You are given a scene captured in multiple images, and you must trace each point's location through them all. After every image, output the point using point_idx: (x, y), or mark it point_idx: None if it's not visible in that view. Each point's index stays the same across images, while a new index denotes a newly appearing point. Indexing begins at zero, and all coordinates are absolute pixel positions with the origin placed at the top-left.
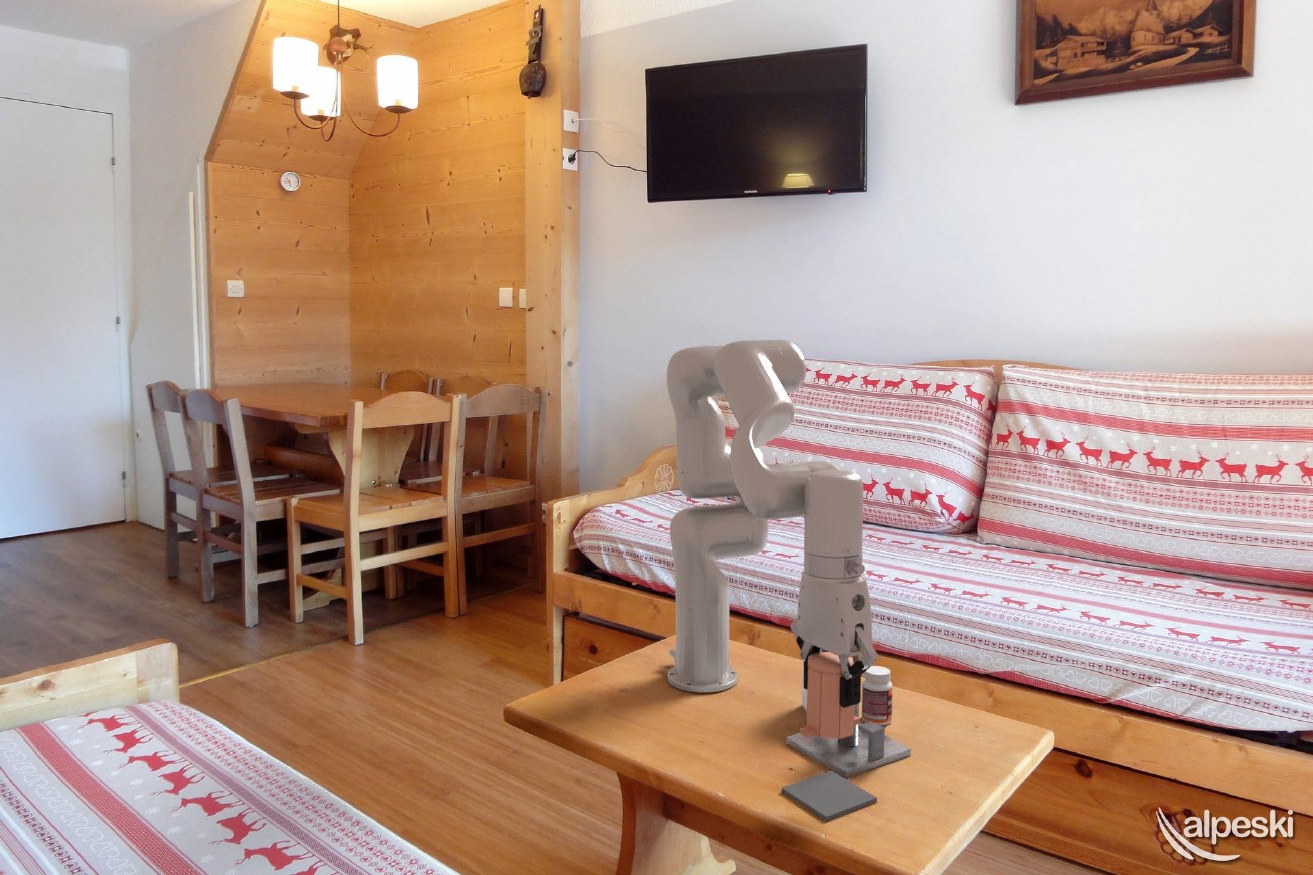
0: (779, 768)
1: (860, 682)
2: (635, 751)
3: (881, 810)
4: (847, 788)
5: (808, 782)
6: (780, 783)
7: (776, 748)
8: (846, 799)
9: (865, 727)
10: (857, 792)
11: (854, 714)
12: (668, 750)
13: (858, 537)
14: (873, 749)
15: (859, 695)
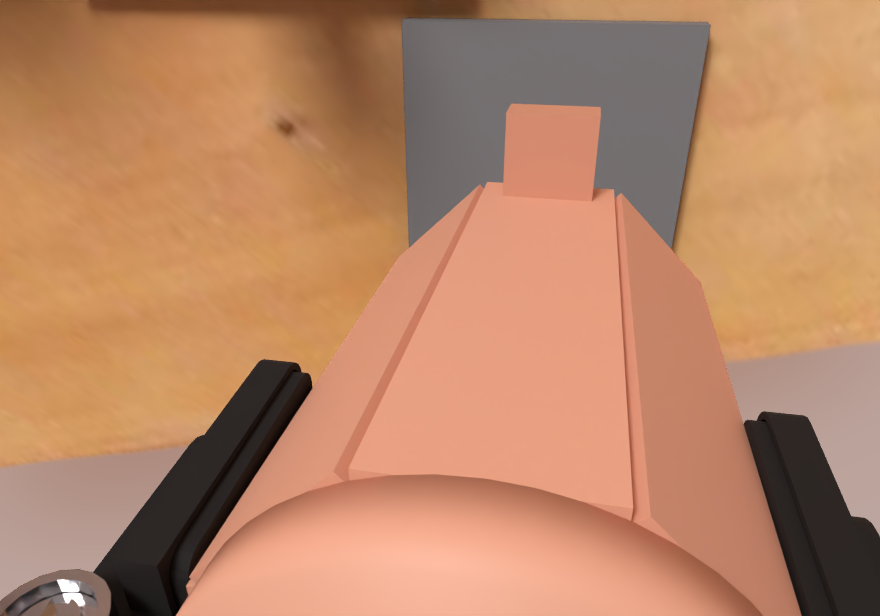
0: (265, 164)
1: (872, 575)
2: (6, 434)
3: (767, 61)
4: (566, 80)
5: (432, 177)
6: (363, 238)
7: (111, 55)
8: (627, 152)
9: None
10: (619, 68)
11: (689, 311)
12: (22, 367)
13: None
14: None
15: (877, 542)
